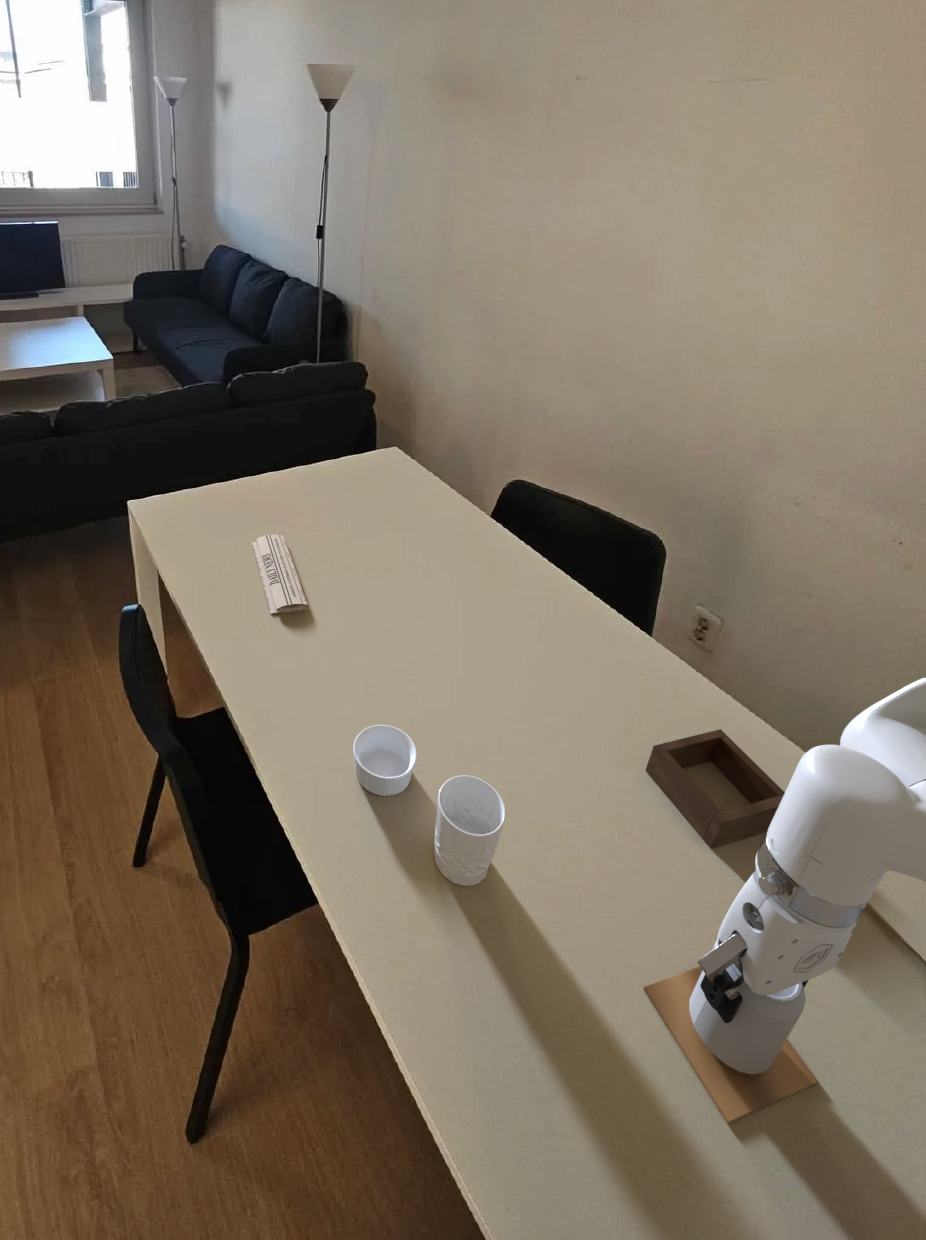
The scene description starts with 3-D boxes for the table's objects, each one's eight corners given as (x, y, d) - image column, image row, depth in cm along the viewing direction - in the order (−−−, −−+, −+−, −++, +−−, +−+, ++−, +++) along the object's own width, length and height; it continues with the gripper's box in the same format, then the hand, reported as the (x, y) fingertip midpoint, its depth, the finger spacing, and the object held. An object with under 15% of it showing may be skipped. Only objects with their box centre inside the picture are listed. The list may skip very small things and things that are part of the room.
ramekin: (406, 810, 89) (409, 787, 87) (343, 787, 92) (345, 765, 90) (420, 757, 97) (423, 735, 95) (361, 738, 99) (363, 716, 98)
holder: (711, 753, 99) (720, 728, 97) (782, 827, 89) (794, 801, 87) (645, 770, 96) (653, 745, 94) (710, 849, 86) (721, 823, 84)
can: (788, 1080, 64) (831, 1011, 60) (710, 1078, 64) (747, 1007, 60) (743, 989, 71) (778, 920, 66) (673, 986, 71) (703, 917, 66)
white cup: (425, 827, 87) (434, 773, 83) (486, 830, 87) (497, 776, 83) (433, 890, 80) (443, 834, 76) (499, 894, 80) (513, 838, 76)
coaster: (724, 959, 74) (725, 956, 74) (817, 1083, 65) (818, 1081, 64) (643, 988, 71) (643, 986, 71) (727, 1124, 62) (728, 1122, 62)
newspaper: (307, 609, 126) (308, 602, 125) (270, 614, 124) (270, 606, 123) (283, 540, 147) (283, 533, 146) (251, 543, 145) (251, 536, 144)
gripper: (769, 950, 52) (708, 1069, 59) (928, 892, 57) (853, 1008, 64) (695, 858, 59) (647, 974, 66) (843, 812, 63) (783, 925, 70)
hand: (749, 990), depth 65 cm, fingers closed on can, 7 cm apart
